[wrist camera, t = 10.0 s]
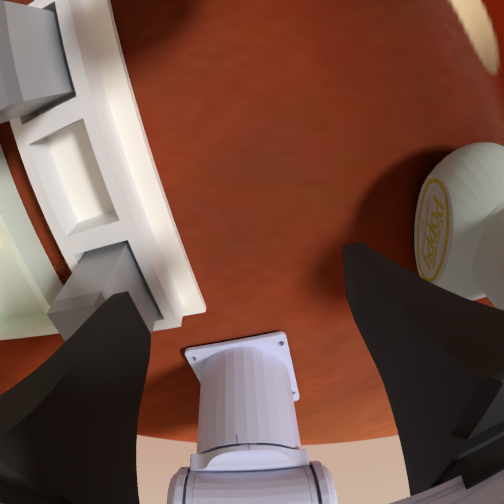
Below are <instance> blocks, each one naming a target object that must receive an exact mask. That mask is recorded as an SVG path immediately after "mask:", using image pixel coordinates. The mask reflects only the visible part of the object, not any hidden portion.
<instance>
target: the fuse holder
mask: <svg viewBox="0 0 504 504" xmlns="http://www.w3.org/2000/svg"><path fill="white" fill-rule="evenodd" d="M28 6H32V7H37V8H41V9H45V10H49V11H53V12H57V16H58V21H59V26H60V31H61V36H62V40H63V45H64V49H65V53H66V58H67V62H68V66H69V70H70V74H71V78H72V81H73V85H74V89H75V92H76V94H75V95H73V96H71V97H69V98H67V99H65V100H63V101H61V102H59V103H57V104H55V105H53V106H51V107H49V108H47V109H45V110H43V111H40V112H36V113H33V114H29V115H26V116H23V117H19V118H16V119H13V120H10V124H11V128H12V131H13V134H14V137H15V140H16V143H17V147H18V150H19V152H20V155H21V158H22V161H23V164H24V167H25V169H26V172H27V175H28V177H29V180H30V183H31V185H32V188H33V190H34V193H35V195H36V198H37V200H38V202H39V205H40V207H41V209H42V212H43V214H44V216H45V219H46V221H47V223H48V225H49V227H50V230H51V232H52V234H53V236H54V238H55V240H56V242H57V244H58V246H59V248H60V250H61V252H62V254H63V256H64V258H65V260H66V262H67V264H68V266H69V268H70V270H71V272H72V273H73V271H74V270H75V268H76V267H77V265H78V264H79V262H80V261H81V259H82V258H83V257H84V255H85V254H86V252H87V251H89V250H92V249H96V248H100V247H103V246H107V245H111V244H114V243H118V242H122V241H126V240H128V242H129V244H130V246H131V249H132V251H133V253H134V256H135V258H136V260H137V262H138V265H139V267H140V269H141V271H142V273H143V275H144V278H145V280H146V282H147V284H148V286H149V288H150V290H151V293H152V295H153V297H154V299H155V301H156V303H157V305H158V307H159V309H158V312H157V316H156V320H155V324H154V328H153V331H156V330H163V329H169V328H175V327H181V322H182V316H187V315H192V314H198V313H203V312H206V305H205V302H204V300H203V297H202V294H201V292H200V289H199V287H198V284H197V282H196V279H195V276H194V274H193V271H192V268H191V266H190V263H189V260H188V258H187V255H186V252H185V250H184V247H183V244H182V241H181V239H180V236H179V233H178V230H177V227H176V225H175V222H174V219H173V216H172V213H171V210H170V207H169V205H168V202H167V199H166V196H165V193H164V190H163V187H162V184H161V181H160V178H159V175H158V172H157V169H156V166H155V162H154V159H153V156H152V153H151V150H150V147H149V143H148V140H147V137H146V134H145V130H144V127H143V124H142V120H141V117H140V114H139V110H138V107H137V103H136V100H135V96H134V93H133V89H132V86H131V82H130V78H129V75H128V71H127V67H126V64H125V60H124V56H123V52H122V48H121V44H120V40H119V36H118V32H117V28H116V24H115V19H114V15H113V11H112V6H111V2H110V0H35V1H33V2H32V3H30V4H29V5H28Z"/></svg>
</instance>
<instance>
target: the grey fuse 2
mask: <svg viewBox="0 0 504 504" xmlns="http://www.w3.org/2000/svg"><path fill="white" fill-rule="evenodd" d="M126 291H128V292H129V294H130V296H131V298H132V300H133V302H134V303H135V305H136V307H137V309H138V311H139V313H140V315H141V317H142V318H143V320H144V322H145V324H146V326H147V327H148V329H149V331H150V333H151V335H152V332H153V328H154V324H155V320H156V316H157V312H158V309H159V307H158V305H157V303H156V301H155V299H154V297H153V295H152V293H151V290H150V288H149V286H148V284H147V282H146V280H145V278H144V275H143V273H142V271H141V269H140V267H139V265H138V262H137V260H136V258H135V256H134V253H133V251H132V249H131V246H130V244H129V242H128V240H126V241H122V242H118V243H114V244H111V245H107V246H103V247H100V248H96V249H92V250H89V251H87V252H86V254H85V255H84V257H83V258H82V259H81V261H80V262H79V264H78V265H77V267H76V268H75V270H74V271H73V273H72V274H71V276H70V277H69V279H68V280H67V282H66V283H65V285H64V286H63V288H62V289H61V291H60V293H59V294H58V296H57V297H56V299H55V300H54V302H53V304H52V305H51V307H50V309H49V310H48V312H47V315H48V317H49V319H50V320H51V322H52V323H53V325H54V326H55V327H56V329H57V330H58V332H59V333H60V335H61V336H62V338H63V339H64V340H65V342H66V341H67V340H68V339H69V338H70V337H71V336H72V335H73V334H74V333H75V332H76V331H77V330H78V328H79V327H80V326H81V325H82V324H83V323H84V322H85V321H86V320H87V319H88V318H89V317H90V316H91V315H92V314H93V313H94V312H95V311H96V310H97V309H98V308H99V307H100V306H101V305H102V304H103V303H104V302H105V301H106V300H107V299H108V298H109V297H110V296H112V295H113V294H116V293H121V292H126Z"/></svg>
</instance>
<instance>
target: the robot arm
mask: <svg viewBox="0 0 504 504" xmlns="http://www.w3.org/2000/svg"><path fill="white" fill-rule="evenodd" d="M342 247H343V259H344V272H345V287H346V297H347V300H348V303H349V306H350V309H351V312H352V315H353V318H354V320H355V323H356V325H357V327H358V329H359V331H360V333H361V335H362V337H363V339H364V341H365V343H366V346H367V348H368V350H369V352H370V354H371V356H372V358H373V360H374V362H375V364H376V367H377V369H378V371H379V373H380V376H381V378H382V381H383V383H384V386H385V389H386V392H387V395H388V399H389V402H390V405H391V408H392V412H393V415H394V419H395V423H396V426H397V430H398V434H399V438H400V442H401V446H402V451H403V455H404V460H405V465H406V470H407V476H408V482H409V488H410V495H411V497H408V498H405V499H402V500H400V501H396V502H393V503H390V504H504V310H501V309H497V308H494V307H490V306H487V305H484V304H481V303H478V302H475V301H472V300H470V299H467V298H464V297H462V296H459V295H457V294H454V293H452V292H450V291H448V290H445V289H443V288H441V287H439V286H437V285H435V284H432V283H430V282H429V281H427V280H425V279H423V278H421V277H419V276H417V275H415V274H414V273H412V272H410V271H408V270H407V269H405V268H403V267H402V266H400V265H398V264H397V263H395V262H393V261H392V260H390V259H388V258H387V257H385V256H384V255H382V254H380V253H379V252H377V251H376V250H374V249H372V248H371V247H369V246H368V245H366V244H364V243H363V242H361V241H360V242H355V243H351V244H346V245H342ZM280 341H283V342H280ZM150 346H151V333H150V331H149V329H148V327H147V326H146V324H145V322H144V320H143V318H142V317H141V315H140V313H139V311H138V309H137V307H136V305H135V303H134V302H133V300H132V298H131V296H130V294H129V292H128V291H126V292H121V293H116V294H113V295H112V296H110V297H109V298H108V299H107V300H106V301H105V302H104V303H103V304H102V305H101V306H100V307H99V308H98V309H97V310H96V311H95V312H94V313H93V314H92V315H91V316H90V317H89V318H88V319H87V320H86V321H85V322H84V323H83V324H82V325H81V326H80V327H79V328H78V330H77V331H76V332H75V333H74V334H73V335H72V336H71V337H70V338H69V339H68V340H67V341H66V342H65V343H64V344H63V345H62V346H61V347H60V348H59V349H58V350H57V351H56V352H55V353H54V354H53V355H52V356H51V357H50V358H48V359H47V360H46V361H45V362H44V363H43V364H42V365H41V366H39V367H38V368H37V369H36V370H35V371H34V372H32V373H31V374H30V375H28V376H27V377H26V378H24V379H23V380H22V381H20V382H19V383H18V384H17V385H15V386H14V387H13V388H11V389H10V390H8V391H7V392H5V393H4V394H2V395H0V504H140V503H139V496H138V487H137V471H136V439H137V422H138V415H139V409H140V403H141V398H142V393H143V389H144V384H145V379H146V374H147V369H148V364H149V358H150ZM185 356H186V358H187V360H188V362H189V364H190V365H191V367H192V369H193V371H194V373H195V374H196V376H197V378H198V380H199V381H200V383H201V389H200V404H199V421H198V440H197V454H191V459H190V467H181V468H180V469H179V470H178V472H177V473H176V474H175V475H174V476H173V477H172V479H171V481H170V484H169V489H168V496H167V504H338V501H337V494H336V489H335V485H334V482H333V478H332V476H331V474H330V472H329V470H328V469H327V468H326V467H325V466H323V465H322V464H321V463H320V462H319V461H310V462H309V458H308V451H307V449H301V444H300V438H299V432H298V425H297V419H296V413H295V407H294V401H297V400H298V399H299V393H298V388H297V384H296V379H295V374H294V370H293V365H292V360H291V356H290V351H289V347H288V342H287V338H286V334H285V333H284V332H281V331H280V332H274V333H269V334H264V335H259V336H254V337H248V338H243V339H238V340H232V341H226V342H221V343H215V344H209V345H203V346H196V347H190V348H187V349H186V350H185ZM194 357H195V358H194Z"/></svg>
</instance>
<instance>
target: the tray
mask: <svg viewBox="0 0 504 504" xmlns="http://www.w3.org/2000/svg"><path fill="white" fill-rule="evenodd" d="M0 248H1V249H0V340H8V339H17V338H25V337H34V336H42V335H50V334H58V333H59V332H58V330H57V329H56V327H55V326H54V325H53V323H52V322H51V320H50V319H49V317H48V315H47V312H48V310H49V309H50V307H51V305H52V304H53V302H54V300H55V299H56V297H57V296H58V294H59V293H60V291H61V289H62V288H63V284H62V283H61V281H60V279H59V277H58V275H57V274H56V272H55V270H54V268H53V266H52V264H51V262H50V260H49V259H48V257H47V255H46V253H45V251H44V249H43V247H42V245H41V243H40V241H39V239H38V236H37V234H36V232H35V230H34V228H33V226H32V224H31V221H30V219H29V217H28V215H27V212H26V210H25V208H24V206H23V203H22V201H21V198H20V196H19V194H18V191H17V189H16V186H15V183H14V181H13V178H12V176H11V173H10V170H9V167H8V165H7V162H6V159H5V156H4V153H3V150H2V147H1V144H0Z"/></svg>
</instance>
